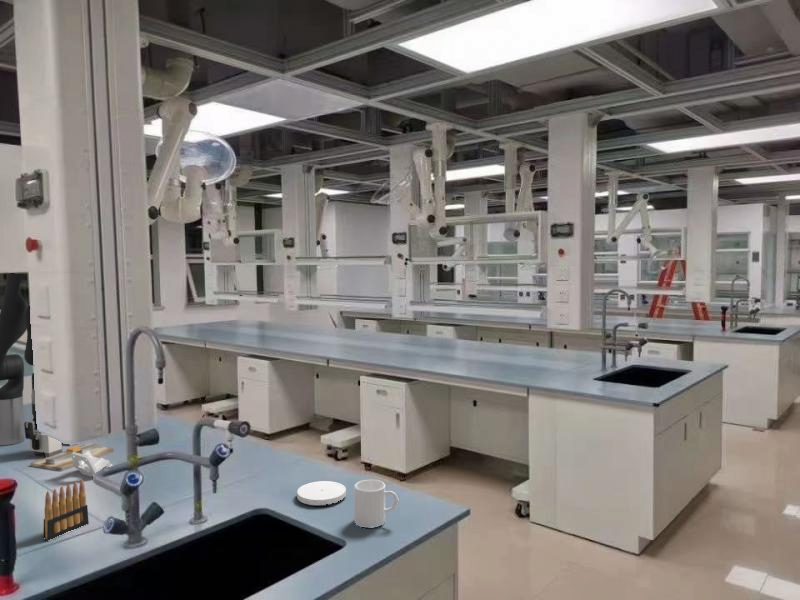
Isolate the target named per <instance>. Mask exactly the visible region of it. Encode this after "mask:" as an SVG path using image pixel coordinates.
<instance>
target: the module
mask: <svg viewBox="0 0 800 600" xmlns="http://www.w3.org/2000/svg"><path fill="white" fill-rule="evenodd" d="M35 436H36V435H35ZM38 439H39V447H40V449H39V450H34V449H33V448H32V440H31V439H29V455H30V456H32V455H33V456H32V457H34V455H35V456H38V455H40V453H41V454H44V458H45V457H50V456H53V455H55V454H58V453H61V452H63V447H62V445H63V444H62V442H60V441H58V440H56V439H54V438H51V437H49V436H47V435H45V434H43V433H41V434H40V436H39V438H38ZM43 452H44V453H43Z"/></svg>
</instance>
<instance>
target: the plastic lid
mask: <svg viewBox="0 0 800 600" xmlns="http://www.w3.org/2000/svg"><path fill="white" fill-rule="evenodd" d="M345 496H347V488H346V486H345V485H344V484H342V483H339V482H335V481H330V480H329V481H328V480H322V481H321V480H320V481H314V482H313V481H312V482H309V483H305V484H303V485H301V486H299V487H298V489H297V491H296V498H297V500H298V501H299V502H300V503H303V504H305V505H309V506H326V504H328V505H332V503H334V504H336V503H338V501H339V502H341V501H343V500H344V499H345V498H346V497H345ZM344 497H345V498H344ZM343 498H344V499H343ZM340 500H341V501H340Z"/></svg>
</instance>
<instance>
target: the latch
mask: <svg viewBox="0 0 800 600" xmlns="http://www.w3.org/2000/svg"><path fill="white" fill-rule="evenodd" d="M80 450H81V448H80V447H79V446H76V445H72V446H69V447H67V448H66V450H65V451H67V452H71V453H73V452H77V451H80Z"/></svg>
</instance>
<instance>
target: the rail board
mask: <svg viewBox="0 0 800 600" xmlns="http://www.w3.org/2000/svg"><path fill="white" fill-rule="evenodd" d="M78 447H80V448H81V450H80V451H77V452H76V453H80V454H84V453H85V452H86V451H89V452H90V453H91V455H92V456H94V457H98V458H101V457H102V456H105V455H108V454H110V453H113V452H114V451H115V449H114V448H111V447H105V446H100V444H99V443H93V442H90V443H88V444H82V445H78ZM73 466H74V463H73V460H72V457H71V452H67V451H66V450H65V451H62V452H61V453H58V454H55V455H53V456H50V457H47V458H45V457H44V458H41V459H38V460H36V461H33V462H30V467H35V468H40V469H46V468H47V469H48V470H53V469H55V470H54V471H59V470H63V471H65V470H64V469H66V470H68V469H70V467H71V468H74V467H73ZM67 468H68V469H67Z"/></svg>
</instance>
